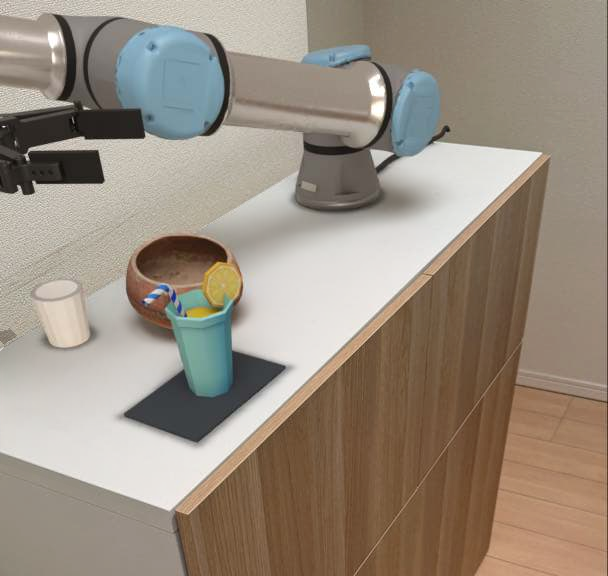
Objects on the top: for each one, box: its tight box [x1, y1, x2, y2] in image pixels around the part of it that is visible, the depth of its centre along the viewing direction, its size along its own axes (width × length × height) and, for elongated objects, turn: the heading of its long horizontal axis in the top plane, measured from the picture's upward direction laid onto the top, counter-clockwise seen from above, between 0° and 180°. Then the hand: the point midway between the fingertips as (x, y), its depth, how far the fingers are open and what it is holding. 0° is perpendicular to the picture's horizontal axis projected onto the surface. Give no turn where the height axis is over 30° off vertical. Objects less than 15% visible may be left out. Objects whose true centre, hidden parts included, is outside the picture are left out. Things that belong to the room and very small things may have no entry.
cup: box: [142, 262, 243, 397], centre depth 88 cm, size 14×8×15 cm, turn 145°
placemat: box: [123, 350, 287, 443], centre depth 94 cm, size 18×11×1 cm, turn 148°
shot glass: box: [29, 278, 91, 349], centre depth 103 cm, size 7×7×7 cm
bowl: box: [125, 232, 244, 331], centre depth 104 cm, size 16×16×10 cm
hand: (123, 143), depth 75 cm, fingers open, 13 cm apart
